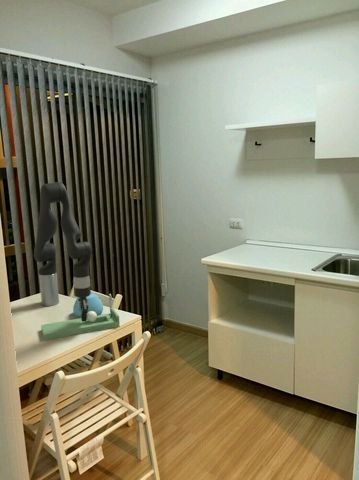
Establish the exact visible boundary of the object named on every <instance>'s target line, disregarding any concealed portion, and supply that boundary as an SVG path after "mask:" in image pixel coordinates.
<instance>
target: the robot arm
mask: <svg viewBox="0 0 359 480" xmlns="http://www.w3.org/2000/svg"><path fill="white" fill-rule="evenodd" d="M67 191H68V190H67V188H66V186H65V185H64V183H63V182H61V181H60V182H59V181H58V182H57V181H56V182H55V181H54V182H49V183H44V184H42V185H41V187H40V193H39V195H40V196H39V200H40V201H39V203H40V204H39V216H38V222H37V231H36V234H37V235H36V240H35V245H34V249H33V257H34V260H35V261H36V262H37V263H43V262H44V263H46V262H47V263H46V264H45V265H42V266H41V267H39V269H38V277H39V286H40V287H39V289H40V300H41V305H42V306H44V307H50V306H51V307H52V306H55V305H57V304H60V299H59V297H60V295H59V285H58V284H59V283H58V274H57V271H58V270H57V249H56V246H55V244H54V243H48V242H49V241H51V239H52V238H53V237H54V236H55V234H56V233H57V230H58V224H59V222H58V218H57V216H56V214H55V213H54V212H53V211H52V210H51V207H50V206H51V205H52V204H55V203H61V204H62V214H61V219H60V227H61V230H62V232H63V235H64V237H65V240H66V246H67V249H66V250H67V253H68V256H69V257H70V258H71V259H73V260H77V259H78V260H79V261H78V262H76V263H74V264H73V267H72V269H73V270H72V274H73V280H72V283H73V285H72V286H73V295H74V296H75V297H76V298H78V297H79V298H78V302H79V308H80V312H81V320H82V321H86V320H87V318H86V314H87V313H88V305H87V303H88V299H87V298H86V297H87V296H89V295H90V294H91V293H92V292H91V278H90V264H91V263H90V262H91V258H92V253H93V252H92V251H93V248H92V245H91V244H90V243H89V242H88V241H81V242H76V241H77V240H79V239H80V238H81V237H82V232H81V230H80V228H79V226H78V224H77V221H76V219H75V216H74V212H73V209H72V205H71V200H70V197H69V195H68V192H67Z"/></svg>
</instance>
